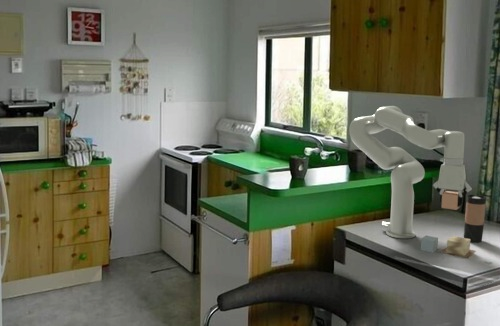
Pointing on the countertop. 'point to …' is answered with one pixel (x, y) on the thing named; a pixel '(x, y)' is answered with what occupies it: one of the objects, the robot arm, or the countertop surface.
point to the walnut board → (457, 254)
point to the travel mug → (474, 218)
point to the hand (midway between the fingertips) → (451, 204)
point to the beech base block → (458, 245)
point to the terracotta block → (450, 200)
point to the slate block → (429, 244)
